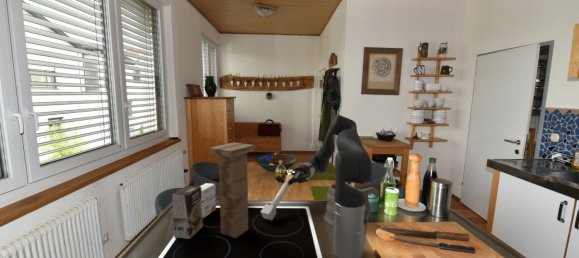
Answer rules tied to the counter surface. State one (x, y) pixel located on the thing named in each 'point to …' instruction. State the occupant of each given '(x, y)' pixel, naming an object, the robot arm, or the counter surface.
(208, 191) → the ink box
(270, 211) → the hammer
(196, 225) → the coffee box
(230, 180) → the stand
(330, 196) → the tankard
